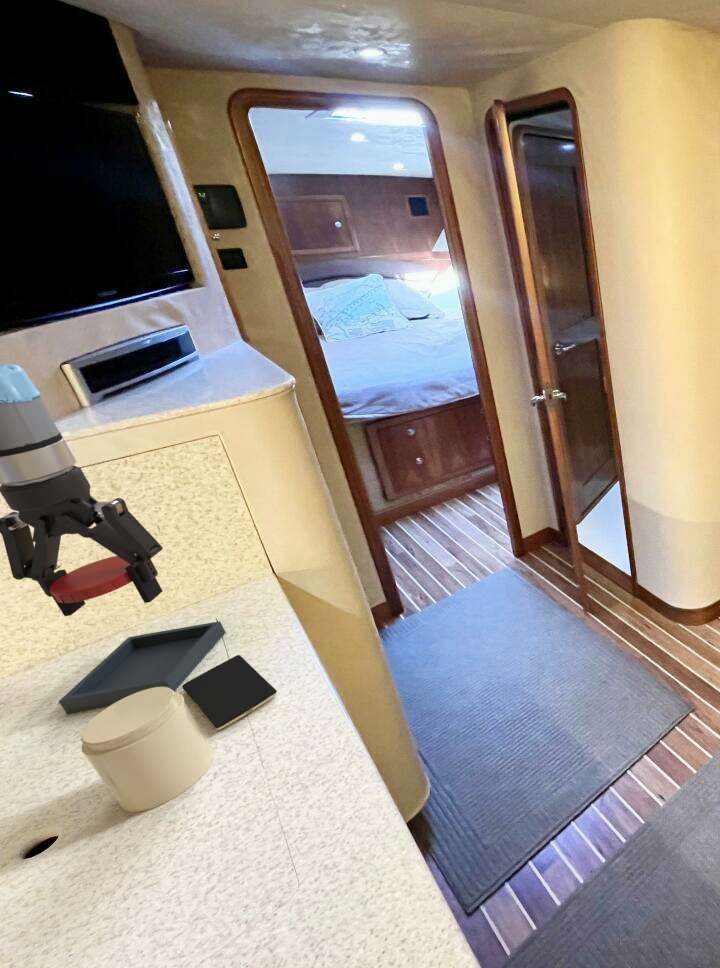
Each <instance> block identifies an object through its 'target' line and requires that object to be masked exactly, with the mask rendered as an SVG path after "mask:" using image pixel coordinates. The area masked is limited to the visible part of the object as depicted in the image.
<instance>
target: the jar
mask: <svg viewBox="0 0 720 968" xmlns="http://www.w3.org/2000/svg"><path fill="white" fill-rule="evenodd" d="M80 741H81V752H82V754H83V755H84V757H85V758H86V759H87V761H88V762H89V764H90V765H91V767H92V768H93V769H94V771H95V772H96V773H97V775H98V777H99V778H100V779H101V781H102V782H103V783H104V785H105V787H106V788H107V790H109V792H110V793H111V795H112V796H113V798H114V799H115V801H116V802H117V803H118V805H119V806H120V808H122V810H124V811H126V812H129V813H138V812H139V813H140V812H144V811H149V810H151V809H153V808H154V809H155V808H157V807H160V806H162V805H164V804H166V803H168V802H169V801H171V800H173V799H175V798H177V797H178V796H179V795H181V794H183V793H184V792H185V791H187V790H189V789H190V788H191V787H193V785H194V784H196V783H197V782H198V781H199V780H200V779H201V778H202V777H203V776H204V775H205V774H206V772H207V771H208V770H209V769H210V766H211V765H212V763H213V761H214V758H215V750H214V748H213V746H212V745H211V743H210V741H209V740H208V737H207V736H206V735H205V733H204V731H203V729H202V727H201V726H200V724H199V723H198V720H197V719H196V717H195V715H194V714H193V712H192V710H191V709H190V707H189V705H188V703H187V701H186V700H185V698H184V697H183V695H182V694H181V693H179V692H176V691H173V690H172V689H170V688H168V687H155V688H150V689H146V690H142V691H140V692H137V693H134V694H132V695H129V696H127V697H125V698H123V699H121V700H119V701H117V702H116V703H114V704H112V705H111V706H106V707H105V708H104V709H103V710H101V711H100V712H98V713H97V714H96V715H95V716H94V717H92V719H91V720H90V721H89V722H88V723H87V724H86V725H85V727H84V728H83V730H82V732H81V738H80Z"/></svg>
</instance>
